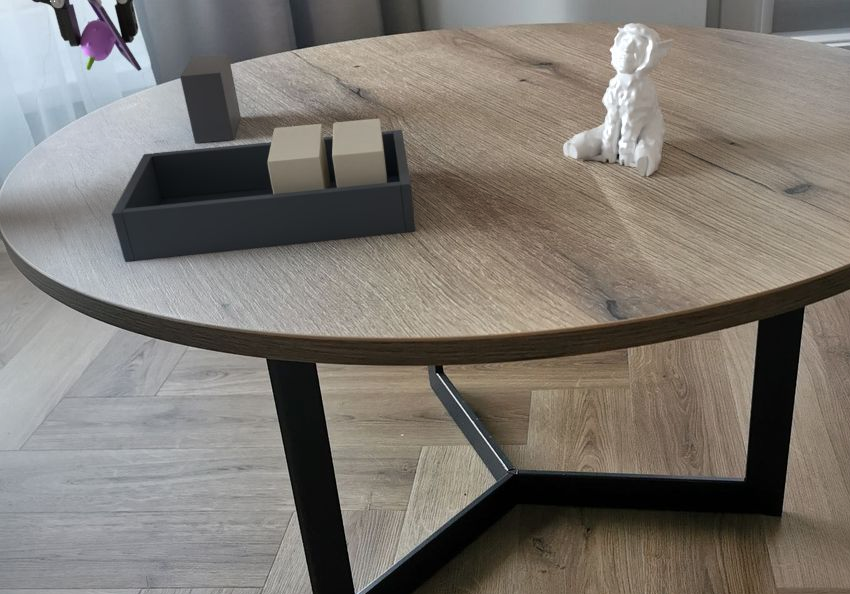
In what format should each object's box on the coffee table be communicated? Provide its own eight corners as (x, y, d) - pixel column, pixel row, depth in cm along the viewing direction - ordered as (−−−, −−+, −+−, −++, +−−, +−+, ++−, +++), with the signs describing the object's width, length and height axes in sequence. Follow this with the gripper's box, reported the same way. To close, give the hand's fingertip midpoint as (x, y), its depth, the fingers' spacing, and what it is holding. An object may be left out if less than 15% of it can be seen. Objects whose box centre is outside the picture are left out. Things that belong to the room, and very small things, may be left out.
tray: (126, 268, 74) (111, 213, 72) (156, 203, 86) (143, 153, 84) (416, 238, 76) (410, 183, 74) (407, 178, 88) (401, 129, 86)
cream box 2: (342, 226, 78) (332, 155, 75) (342, 188, 85) (333, 122, 82) (391, 221, 78) (383, 150, 75) (387, 183, 85) (380, 117, 82)
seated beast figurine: (559, 162, 90) (556, 30, 83) (604, 134, 96) (605, 9, 89) (650, 179, 85) (655, 40, 79) (692, 149, 91) (699, 18, 85)
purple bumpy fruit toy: (109, 2, 91) (93, -11, 98) (60, 28, 90) (47, 13, 97) (148, 66, 95) (130, 49, 102) (101, 92, 94) (86, 73, 101)
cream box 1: (280, 232, 77) (267, 161, 74) (286, 194, 85) (274, 127, 82) (330, 227, 78) (319, 156, 75) (331, 189, 85) (321, 123, 82)
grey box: (194, 143, 100) (179, 76, 96) (204, 120, 107) (190, 56, 103) (233, 139, 100) (220, 72, 97) (240, 117, 107) (228, 53, 104)
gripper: (-39, -141, 84) (18, 57, 93) (129, -150, 85) (170, 46, 94) (-12, -146, 90) (39, 40, 99) (143, -154, 92) (181, 30, 101)
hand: (103, 42), depth 97 cm, fingers closed on purple bumpy fruit toy, 4 cm apart
